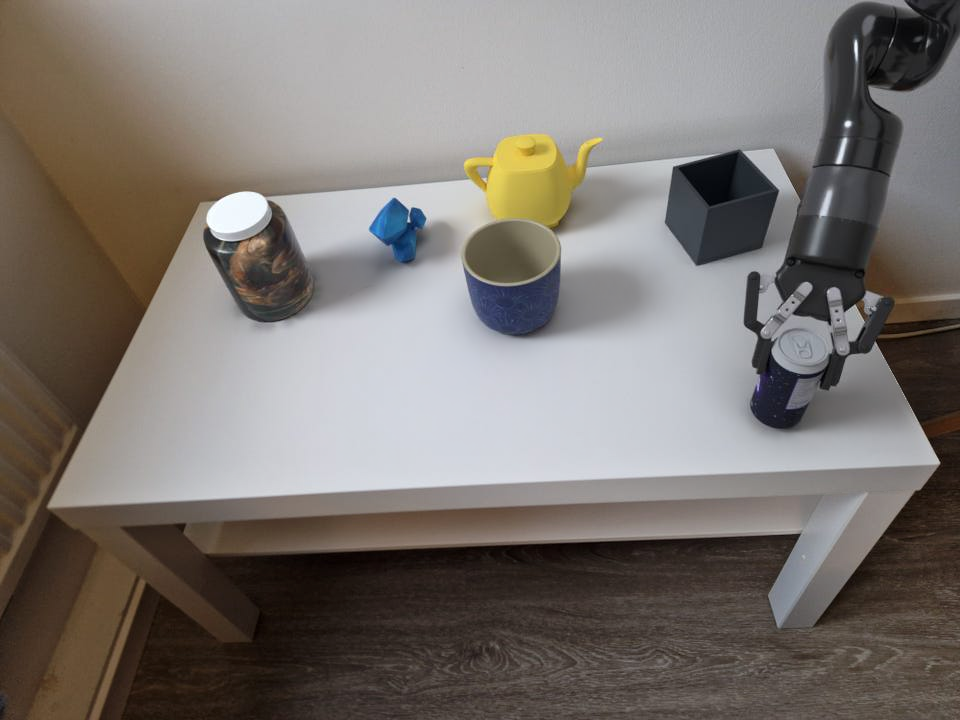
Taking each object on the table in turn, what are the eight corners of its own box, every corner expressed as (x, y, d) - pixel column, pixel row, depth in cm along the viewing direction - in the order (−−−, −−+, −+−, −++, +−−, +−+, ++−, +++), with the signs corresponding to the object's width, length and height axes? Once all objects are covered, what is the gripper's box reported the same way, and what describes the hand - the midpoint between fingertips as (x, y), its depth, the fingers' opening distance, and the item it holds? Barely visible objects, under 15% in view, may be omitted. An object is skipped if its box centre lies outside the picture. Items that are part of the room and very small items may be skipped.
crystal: (426, 184, 99) (414, 220, 89) (433, 236, 104) (422, 275, 95) (378, 186, 100) (360, 222, 90) (387, 238, 105) (372, 277, 96)
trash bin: (726, 205, 99) (740, 148, 92) (762, 247, 93) (779, 190, 85) (664, 222, 98) (672, 166, 91) (696, 265, 92) (707, 209, 84)
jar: (220, 306, 97) (173, 226, 85) (273, 256, 103) (235, 175, 91) (280, 332, 92) (238, 252, 81) (331, 278, 98) (300, 196, 86)
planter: (461, 291, 94) (450, 231, 85) (544, 269, 95) (542, 207, 86) (484, 355, 86) (475, 296, 77) (574, 330, 87) (575, 269, 79)
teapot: (604, 234, 98) (608, 162, 88) (470, 244, 100) (460, 175, 90) (594, 179, 106) (597, 108, 97) (471, 189, 108) (461, 121, 98)
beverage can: (795, 392, 78) (826, 324, 68) (805, 434, 74) (839, 368, 65) (744, 391, 78) (768, 324, 69) (752, 432, 75) (778, 367, 66)
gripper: (763, 202, 65) (719, 368, 68) (929, 228, 60) (875, 405, 63) (759, 212, 72) (719, 362, 75) (907, 235, 67) (860, 394, 70)
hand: (791, 381), depth 69 cm, fingers closed on beverage can, 5 cm apart
